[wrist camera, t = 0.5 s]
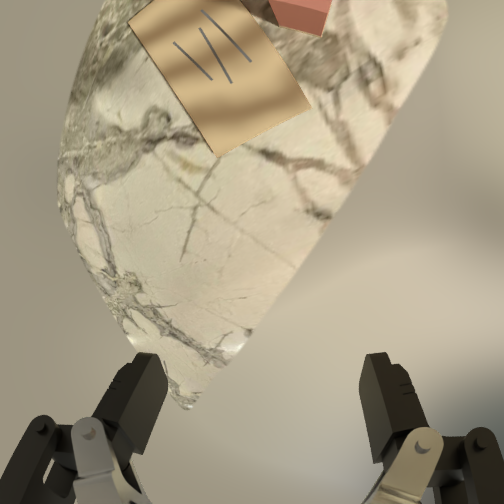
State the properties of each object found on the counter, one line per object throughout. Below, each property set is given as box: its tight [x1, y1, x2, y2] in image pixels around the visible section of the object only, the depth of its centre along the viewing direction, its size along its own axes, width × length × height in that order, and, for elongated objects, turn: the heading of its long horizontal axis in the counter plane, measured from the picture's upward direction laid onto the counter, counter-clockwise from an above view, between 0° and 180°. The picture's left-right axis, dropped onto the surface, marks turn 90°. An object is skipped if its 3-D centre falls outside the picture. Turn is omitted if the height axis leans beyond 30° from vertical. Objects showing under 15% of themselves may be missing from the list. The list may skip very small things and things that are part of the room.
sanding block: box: [268, 0, 332, 38], centre depth 17 cm, size 5×5×10 cm
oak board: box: [128, 0, 312, 158], centre depth 25 cm, size 22×12×1 cm, turn 31°
